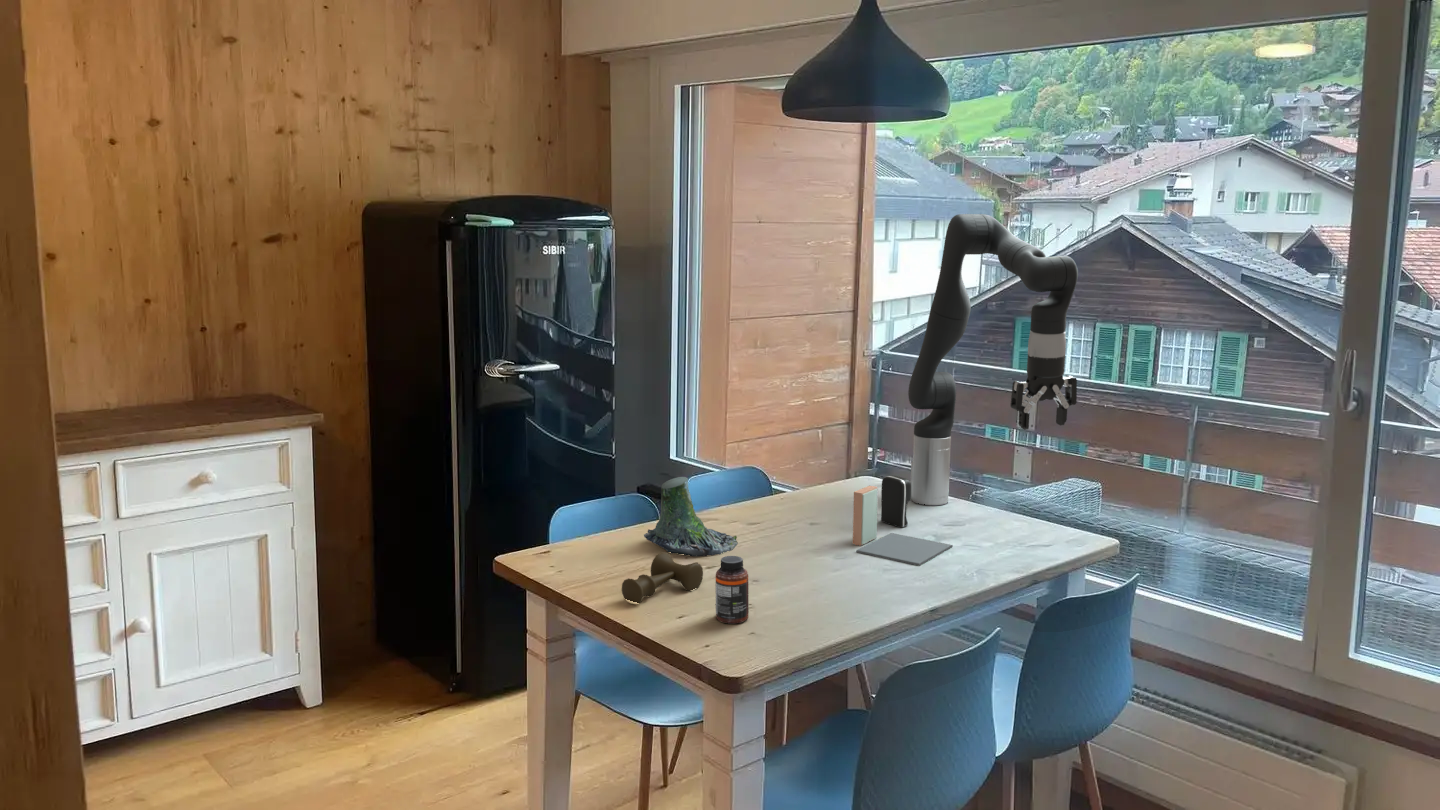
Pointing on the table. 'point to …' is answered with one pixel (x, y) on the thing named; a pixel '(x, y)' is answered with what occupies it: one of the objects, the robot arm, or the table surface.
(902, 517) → the battery charger
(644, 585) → the kendama
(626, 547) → the table surface
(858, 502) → the tile
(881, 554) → the mat
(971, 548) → the table surface
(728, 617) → the supplement bottle
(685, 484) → the tree stump
